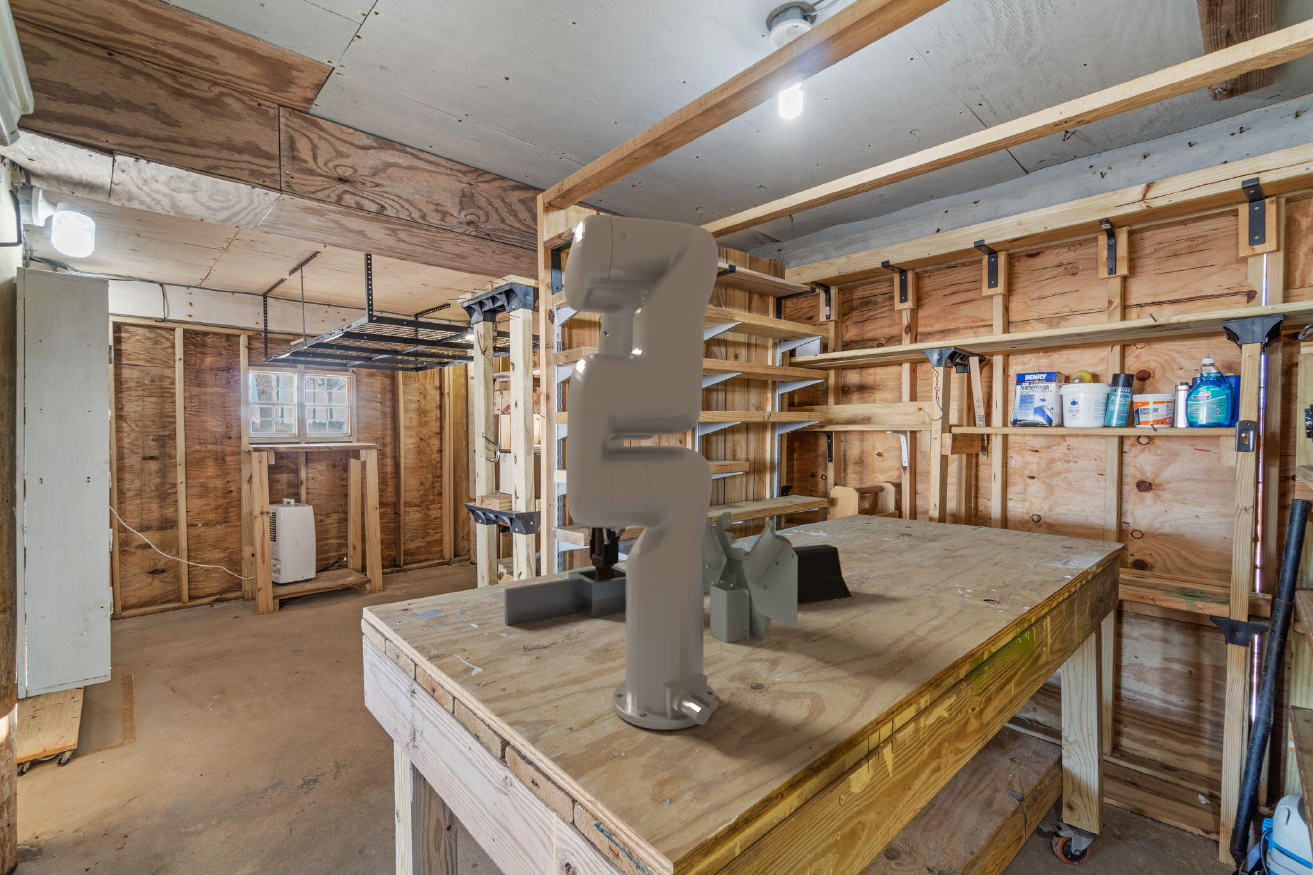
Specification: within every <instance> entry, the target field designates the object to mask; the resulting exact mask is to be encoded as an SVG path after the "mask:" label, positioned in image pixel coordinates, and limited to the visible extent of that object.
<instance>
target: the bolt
mask: <svg viewBox="0 0 1313 875" xmlns="http://www.w3.org/2000/svg"><path fill="white" fill-rule="evenodd" d="M595 529H596V530H595V531H596V533H595V534H596V535H595V536H596V537H595V538H596V540H595V541H596V542H595V543H596V544H595V545H596V546H595V548H596V549H595V550H596V551H595V552H596V553H595V554H593V555H592V560H591V566H593V567H594V568H595V571H596V572H595V573H596V574H595V576H596V577H595V578H596V579H595V580H596V581H602V580H608V579H612V578H611V577H612V571H611V570H612V569H611V568H612V566H616V564H612V565H603V564H602V544H604V535H603V527H600V528H595ZM611 531H613V529H612V530H609V534H610V533H611Z"/></svg>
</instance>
